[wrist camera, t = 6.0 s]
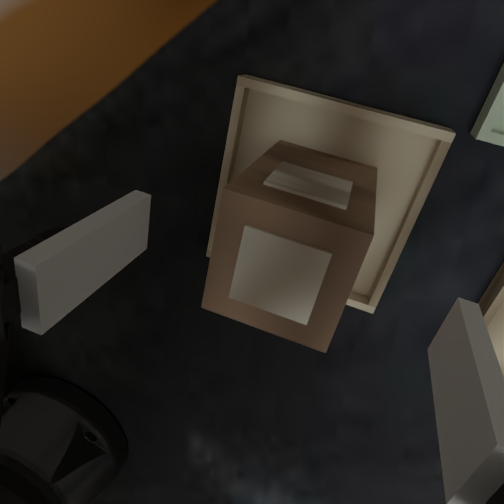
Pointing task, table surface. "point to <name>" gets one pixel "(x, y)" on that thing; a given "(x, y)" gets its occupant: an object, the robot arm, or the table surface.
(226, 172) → the tray
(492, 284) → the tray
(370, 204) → the letter block
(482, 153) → the table surface
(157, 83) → the table surface
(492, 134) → the tray
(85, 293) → the robot arm
